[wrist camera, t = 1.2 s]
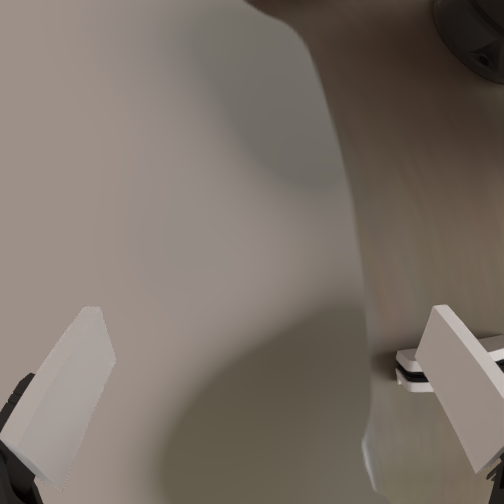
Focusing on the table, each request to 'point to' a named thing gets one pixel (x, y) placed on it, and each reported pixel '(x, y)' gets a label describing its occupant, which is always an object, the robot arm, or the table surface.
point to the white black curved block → (414, 378)
